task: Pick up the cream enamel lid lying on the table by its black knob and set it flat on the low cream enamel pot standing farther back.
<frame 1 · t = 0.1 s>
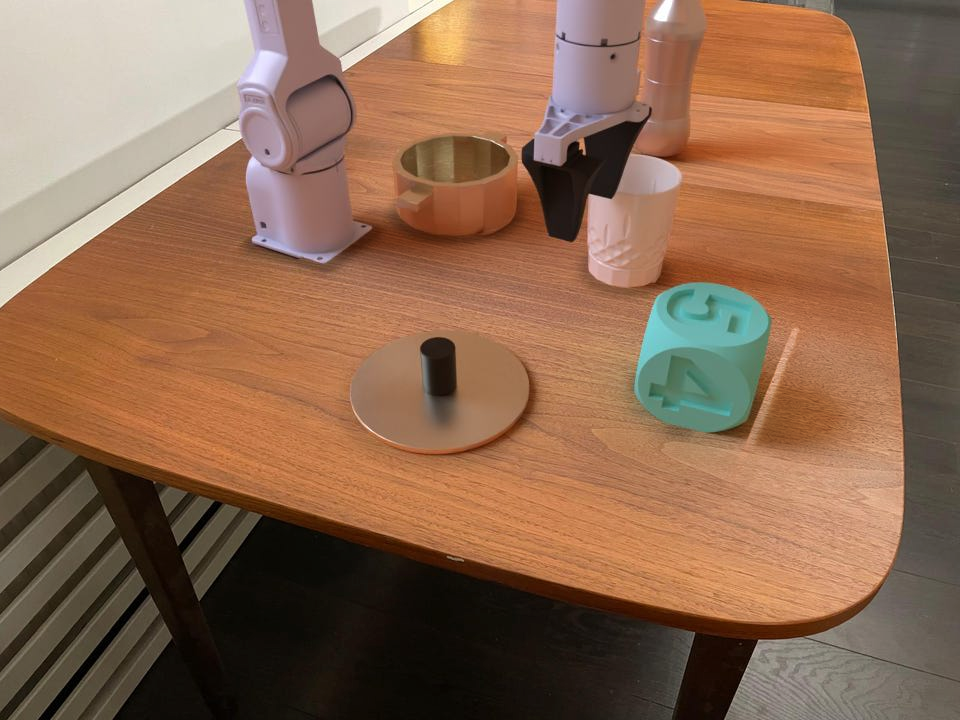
hand: (582, 215, 60), 10 cm above the table, tool pointing down, fingers open, 7 cm apart
white cup: (623, 273, 72), on the table
lid: (440, 389, 58), point 1 cm above the table
pot: (456, 209, 81), on the table
plastic bottle: (657, 153, 92), on the table
decorative dice: (691, 399, 58), on the table
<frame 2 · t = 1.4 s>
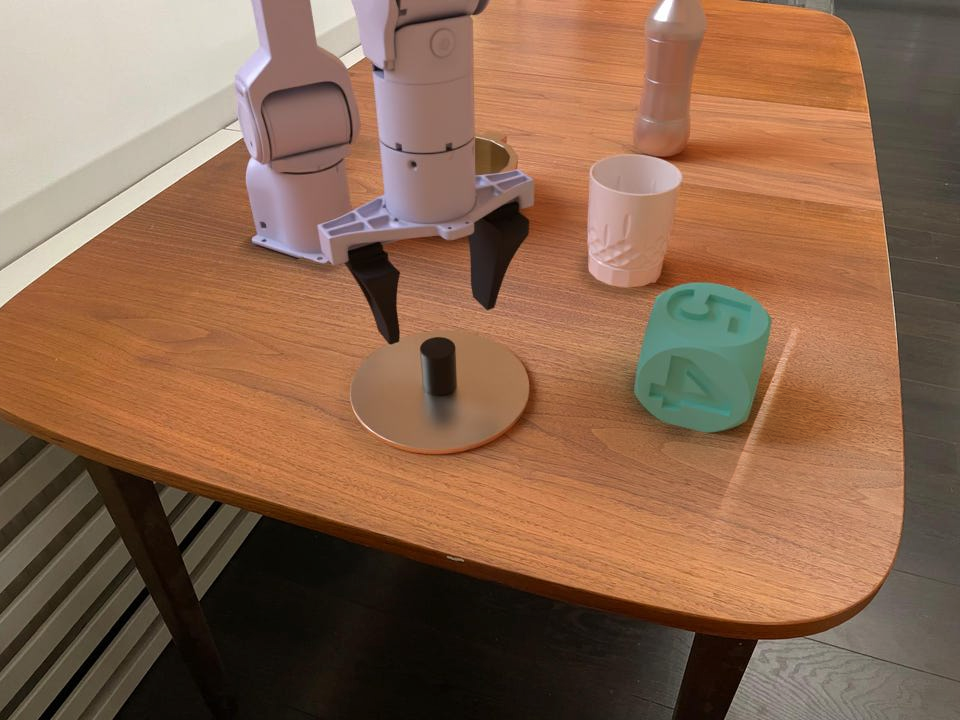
hand: (437, 318, 54), 7 cm above the table, tool pointing down, fingers open, 7 cm apart
nothing on the table moved.
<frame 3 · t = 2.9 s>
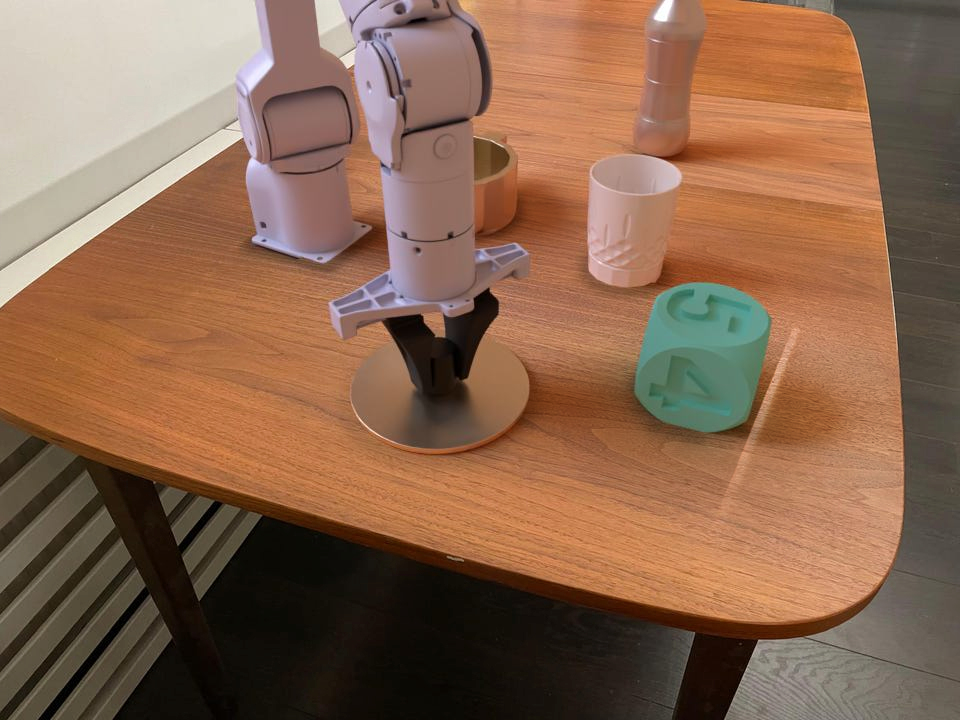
hand: (439, 379, 57), 2 cm above the table, tool pointing down, fingers closed on lid, 2 cm apart
lid: (440, 389, 58), point 1 cm above the table, touching gripper
everything else where it was.
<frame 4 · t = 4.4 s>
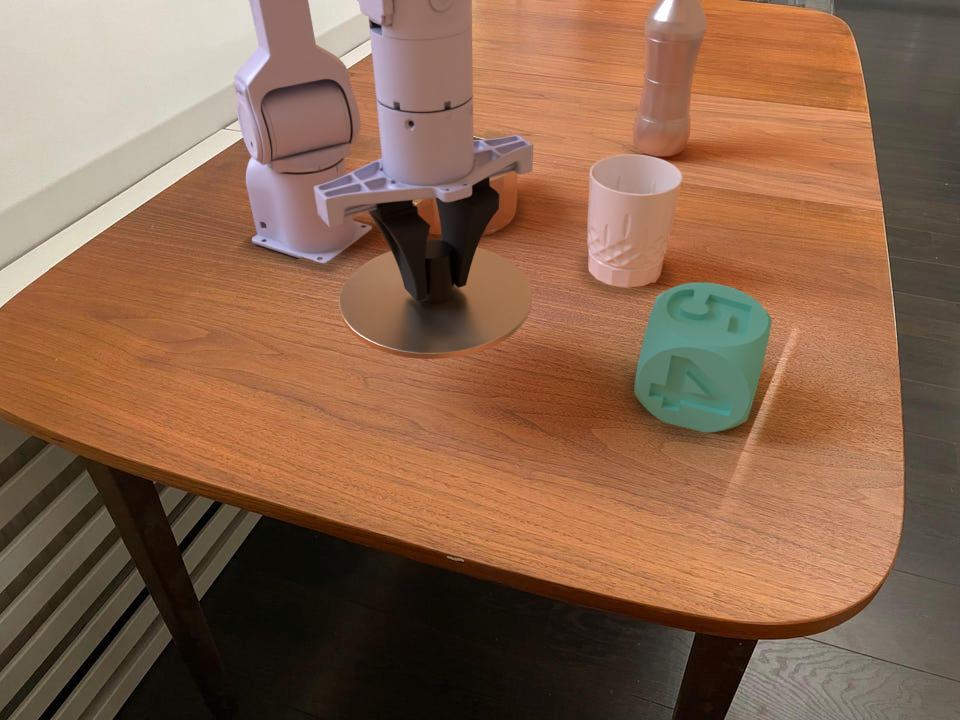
hand: (435, 286, 53), 9 cm above the table, tool pointing down, fingers closed on lid, 2 cm apart
lid: (436, 298, 54), point 8 cm above the table, touching gripper
everything else where it was.
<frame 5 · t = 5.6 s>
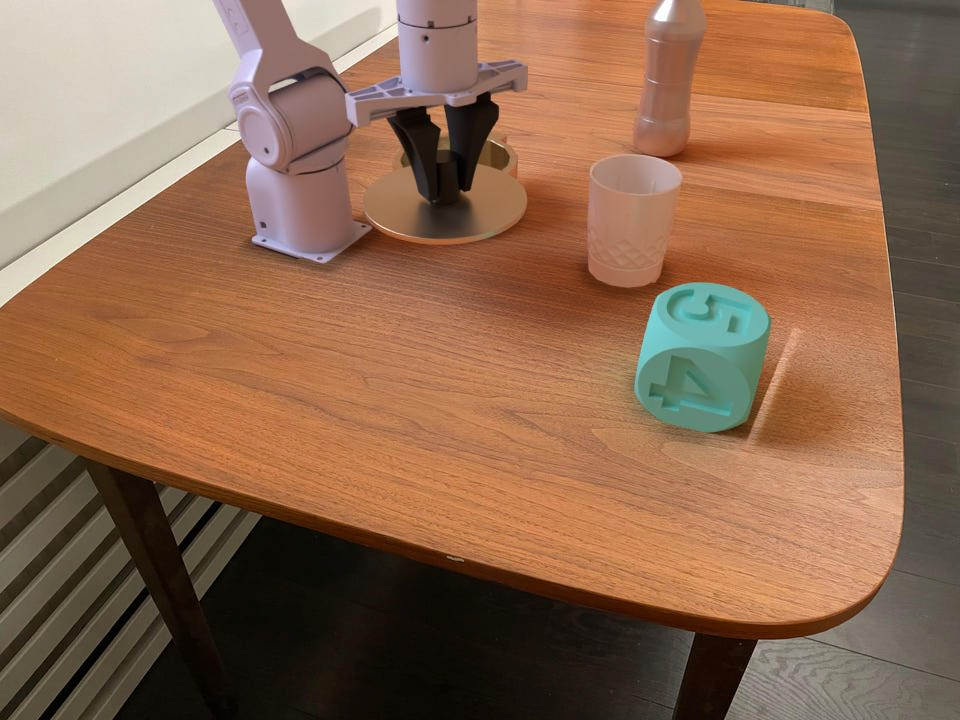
hand: (444, 191, 63), 10 cm above the table, tool pointing down, fingers closed on lid, 2 cm apart
lid: (445, 202, 63), point 9 cm above the table, touching gripper
everything else where it was.
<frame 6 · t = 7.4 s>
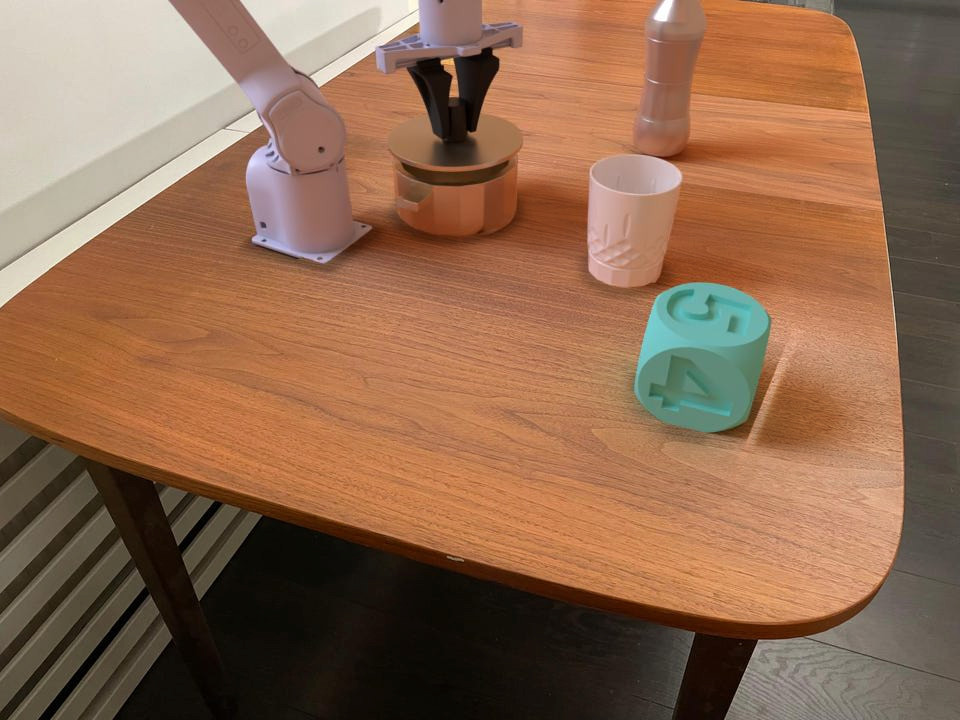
hand: (454, 132, 76), 9 cm above the table, tool pointing down, fingers closed on lid, 2 cm apart
lid: (455, 141, 76), point 8 cm above the table, touching gripper
everything else where it was.
when the fingers open (7 cm above the table, at t = 8.3 s): lid stays where it is, resting on pot.
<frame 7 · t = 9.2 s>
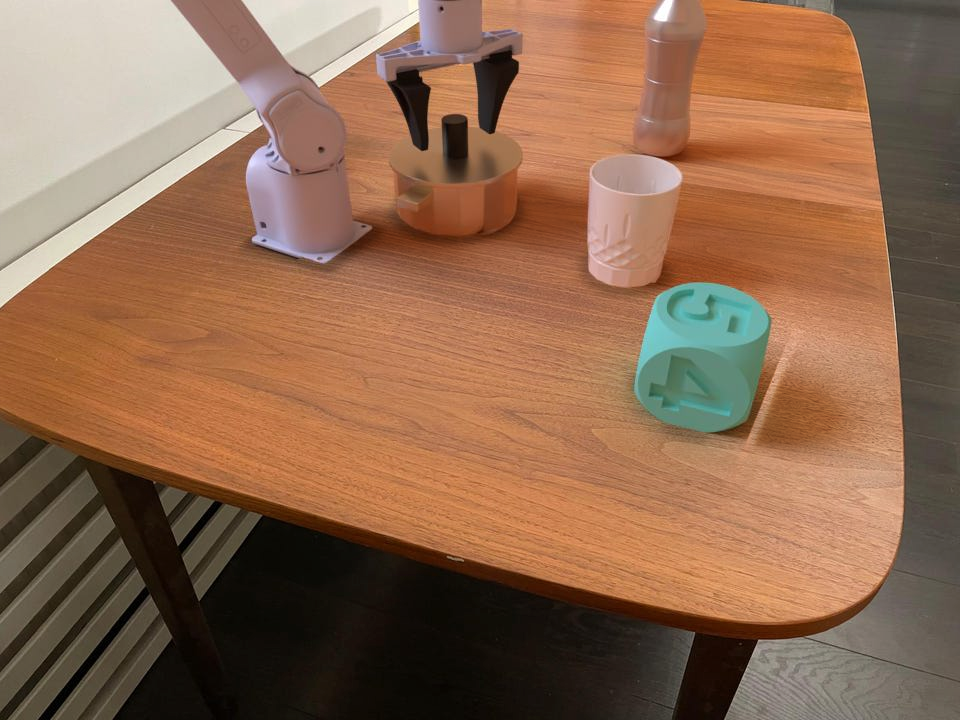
hand: (454, 138, 76), 8 cm above the table, tool pointing down, fingers open, 7 cm apart
lid: (455, 157, 78), point 6 cm above the table, touching pot
everything else where it was.
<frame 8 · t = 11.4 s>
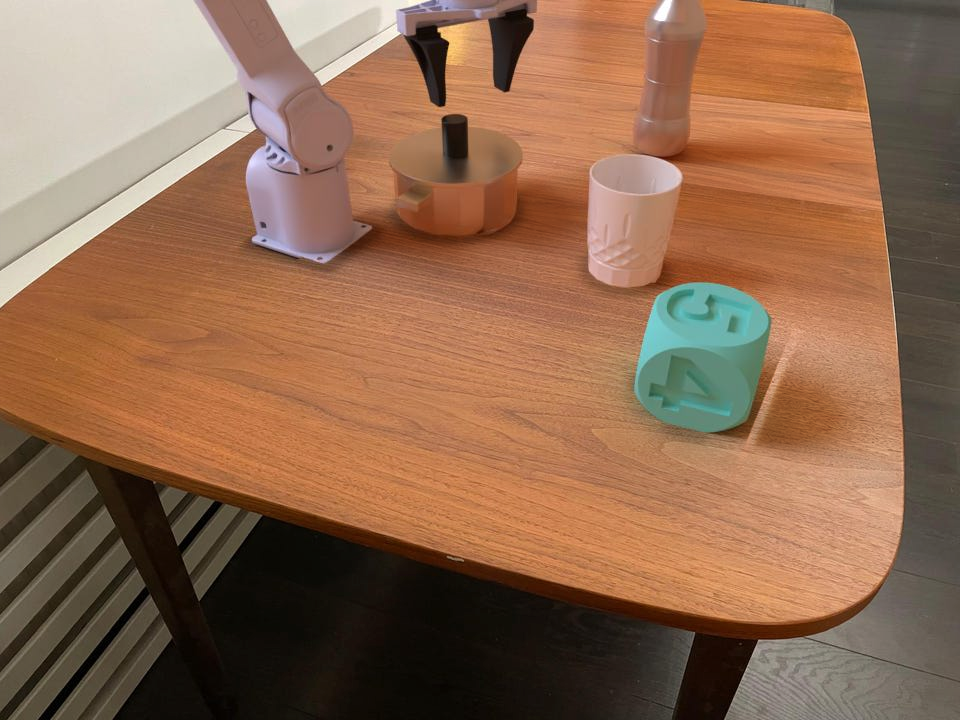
hand: (470, 96, 78), 10 cm above the table, tool pointing down, fingers open, 7 cm apart
nothing on the table moved.
at the end: lid 0.1 cm off-centre on the pot, point 5.9 cm above the pot's base; lid tilted 0° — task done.
